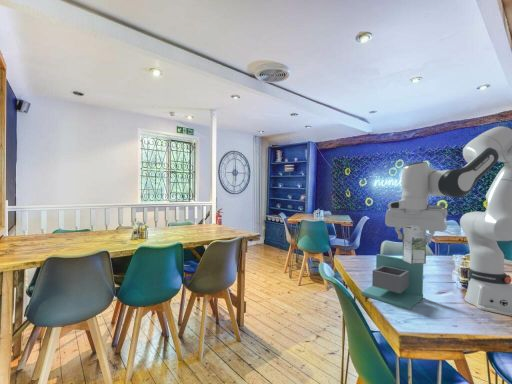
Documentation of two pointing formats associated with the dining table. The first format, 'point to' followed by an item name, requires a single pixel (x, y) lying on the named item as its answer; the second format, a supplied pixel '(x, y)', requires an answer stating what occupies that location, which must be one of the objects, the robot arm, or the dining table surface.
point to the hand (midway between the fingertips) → (414, 240)
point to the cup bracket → (396, 282)
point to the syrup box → (414, 245)
